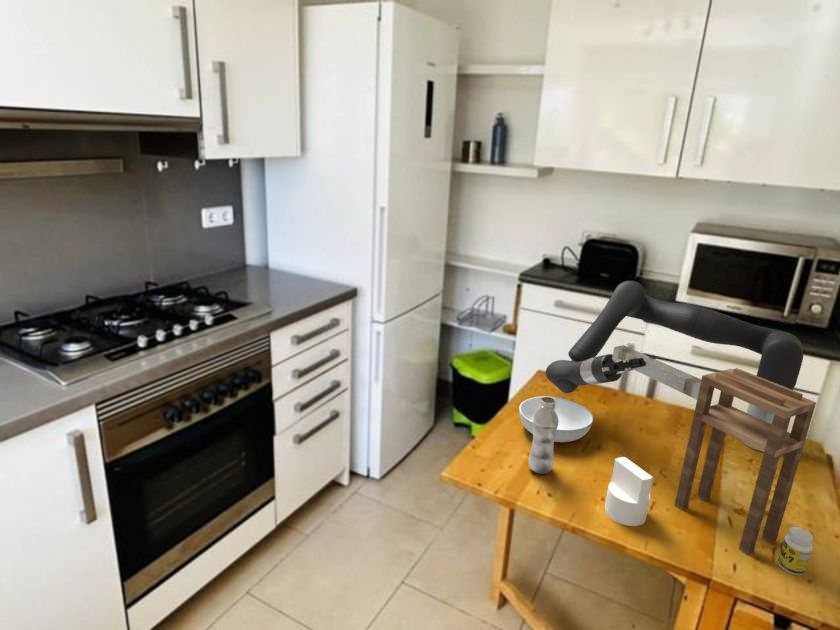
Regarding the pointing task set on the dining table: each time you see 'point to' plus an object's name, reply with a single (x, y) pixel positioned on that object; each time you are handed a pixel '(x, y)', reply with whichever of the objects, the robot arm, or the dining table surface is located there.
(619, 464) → the base with upright slab
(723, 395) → the walnut shelf
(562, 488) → the dining table surface
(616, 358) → the bar
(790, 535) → the supplement bottle
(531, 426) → the serving bowl
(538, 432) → the plastic bottle
